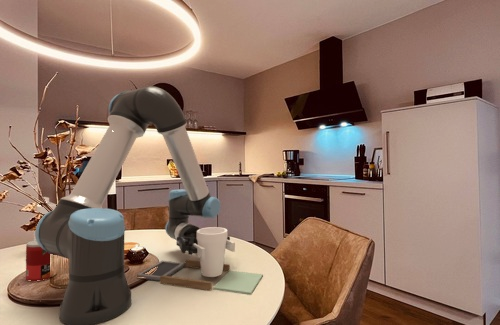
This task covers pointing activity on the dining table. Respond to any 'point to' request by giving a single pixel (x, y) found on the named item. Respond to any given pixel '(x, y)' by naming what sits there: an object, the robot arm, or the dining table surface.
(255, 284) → the pad
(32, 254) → the canned food
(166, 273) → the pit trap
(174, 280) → the channel rails
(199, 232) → the foam cup
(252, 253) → the dining table surface
